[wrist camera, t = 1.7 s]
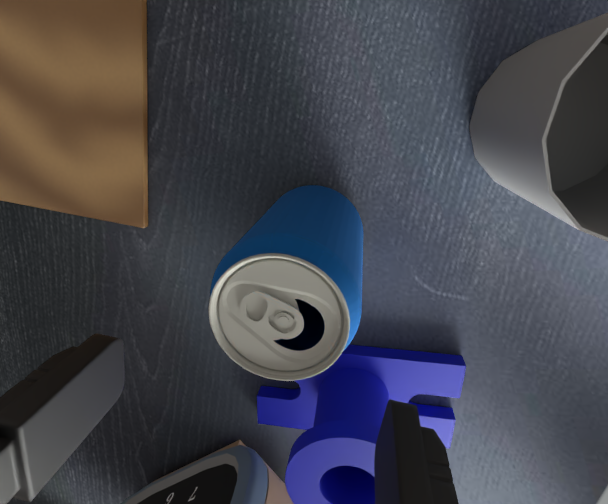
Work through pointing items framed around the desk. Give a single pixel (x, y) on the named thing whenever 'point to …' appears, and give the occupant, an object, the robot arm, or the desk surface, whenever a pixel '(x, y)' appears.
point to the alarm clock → (218, 481)
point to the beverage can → (291, 286)
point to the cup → (551, 125)
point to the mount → (355, 417)
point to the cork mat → (75, 107)
